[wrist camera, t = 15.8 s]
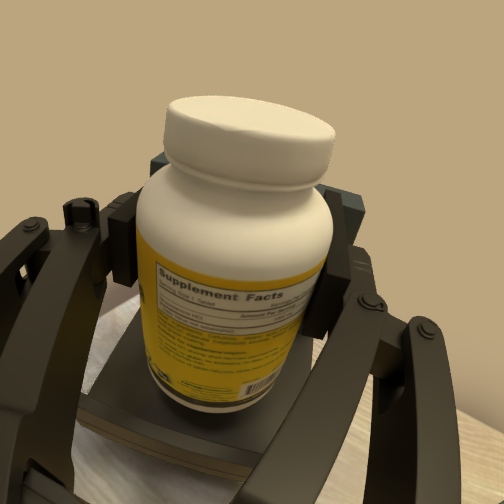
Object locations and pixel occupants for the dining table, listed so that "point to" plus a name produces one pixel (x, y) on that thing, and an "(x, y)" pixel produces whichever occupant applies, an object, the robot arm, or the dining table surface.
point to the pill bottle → (230, 246)
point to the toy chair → (187, 419)
